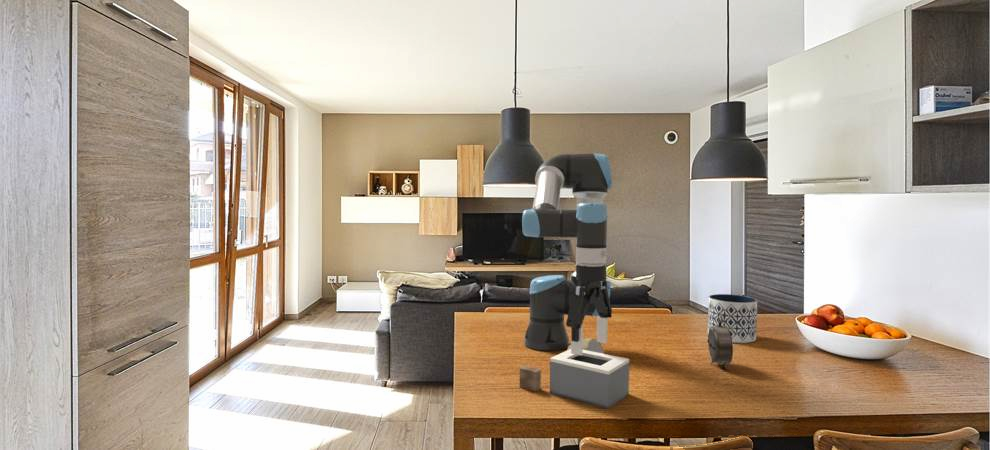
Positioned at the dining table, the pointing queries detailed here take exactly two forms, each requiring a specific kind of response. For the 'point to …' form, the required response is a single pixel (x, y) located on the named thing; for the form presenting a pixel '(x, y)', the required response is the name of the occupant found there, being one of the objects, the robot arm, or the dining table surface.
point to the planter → (734, 315)
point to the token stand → (530, 378)
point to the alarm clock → (720, 344)
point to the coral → (591, 345)
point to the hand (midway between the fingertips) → (589, 348)
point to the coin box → (590, 377)
